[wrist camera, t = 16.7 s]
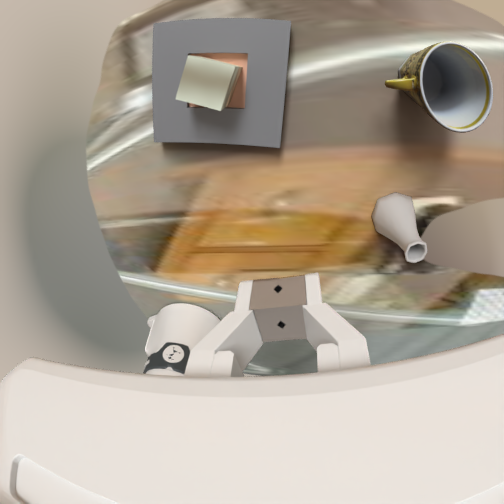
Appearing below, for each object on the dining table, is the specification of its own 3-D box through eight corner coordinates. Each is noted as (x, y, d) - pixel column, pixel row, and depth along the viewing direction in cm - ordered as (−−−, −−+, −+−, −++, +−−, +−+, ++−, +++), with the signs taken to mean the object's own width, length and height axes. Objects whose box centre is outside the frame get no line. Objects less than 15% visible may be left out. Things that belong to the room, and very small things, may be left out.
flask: (416, 190, 37) (445, 225, 29) (412, 232, 41) (435, 272, 33) (371, 192, 39) (393, 229, 31) (370, 235, 43) (387, 278, 35)
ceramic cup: (445, 46, 24) (488, 47, 16) (453, 114, 30) (494, 133, 22) (357, 43, 27) (384, 36, 19) (370, 117, 32) (398, 135, 24)
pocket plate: (279, 143, 36) (279, 147, 34) (160, 137, 37) (154, 142, 35) (290, 24, 27) (291, 21, 25) (160, 25, 27) (153, 23, 25)
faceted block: (229, 104, 32) (220, 111, 27) (191, 93, 32) (175, 99, 27) (242, 66, 29) (235, 66, 25) (202, 56, 29) (188, 55, 24)
